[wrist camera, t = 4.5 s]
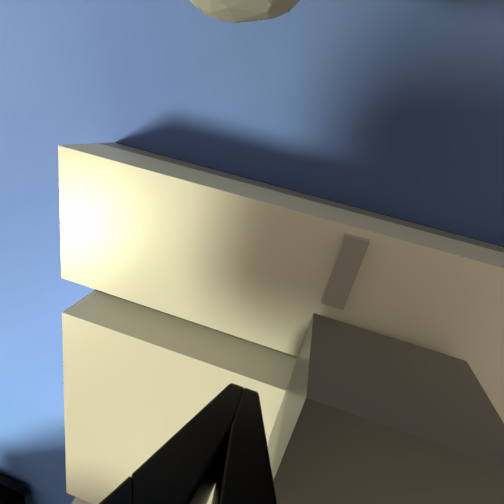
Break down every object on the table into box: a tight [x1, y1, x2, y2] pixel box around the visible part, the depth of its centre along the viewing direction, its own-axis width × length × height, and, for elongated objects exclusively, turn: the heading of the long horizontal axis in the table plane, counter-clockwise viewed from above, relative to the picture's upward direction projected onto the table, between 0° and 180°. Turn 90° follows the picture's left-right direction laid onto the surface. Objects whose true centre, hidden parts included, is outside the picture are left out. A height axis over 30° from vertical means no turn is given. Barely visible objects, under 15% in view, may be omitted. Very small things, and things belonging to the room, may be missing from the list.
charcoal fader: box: [268, 313, 504, 504], centre depth 9 cm, size 4×5×5 cm
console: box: [58, 143, 504, 504], centre depth 13 cm, size 22×22×3 cm
